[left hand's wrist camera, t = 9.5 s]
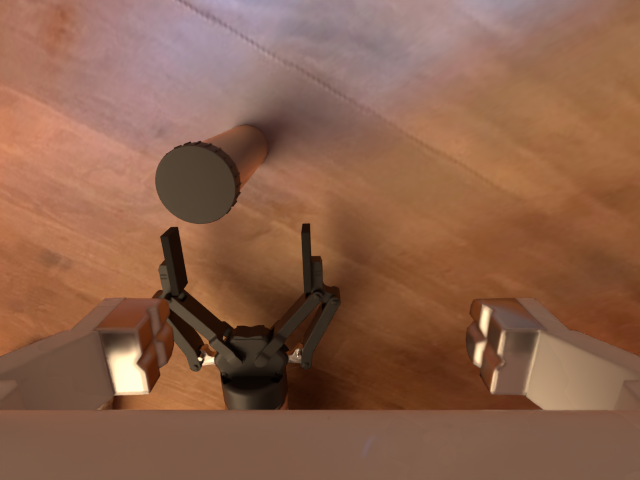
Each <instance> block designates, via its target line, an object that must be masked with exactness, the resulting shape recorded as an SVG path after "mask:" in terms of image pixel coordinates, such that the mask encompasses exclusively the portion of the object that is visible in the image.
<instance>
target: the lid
mask: <svg viewBox="0 0 640 480" xmlns="http://www.w3.org/2000/svg"><path fill="white" fill-rule="evenodd" d="M221 149H222V148H221V147H220V148H218V147H216V146H214V145H212V143H209V144H208V143H203V142H201V141H198V142H194V143H191V142H188V143H185V144H184V145H183V146H182V145H180V146H177V147H175V148H174V149H173V150H172V151H170V152H169V153H167V154H166V155H165V156H164V157H163V159H162V160H161V161H160V163H159V165H158V168H157V171H156V177H155V184H156V189H157V193H158V195H159V198H160V200H161V201H162V203H163V204H164V206H165V207H166V208H167V209H168V210H169V211H170V212H171V213H172V214H173V215H175V216H176V217H178V218H180V219H182V220H184V221H186V222H190V223H195V224H206V223H211V222H214V221H216V220H218V219H220V218H221V217H223V216H224V215H225V214H228V212H229V211H230V210H231V207H232V206H234V205H235V204H236V202H237V201H236V200H237V198H238V196H239V195H240V193H241V192H240V185H241V184H242V182H240V172H238V169H237V167H236V163H234V162H233V160H232V159H231V158H230V155H229V154H227V153H225V152H224V151H223V150H221Z"/></svg>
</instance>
